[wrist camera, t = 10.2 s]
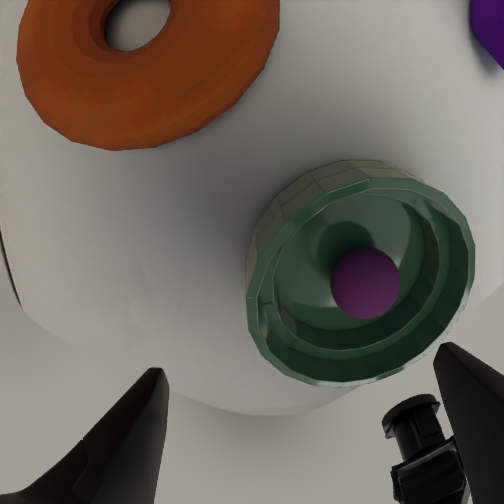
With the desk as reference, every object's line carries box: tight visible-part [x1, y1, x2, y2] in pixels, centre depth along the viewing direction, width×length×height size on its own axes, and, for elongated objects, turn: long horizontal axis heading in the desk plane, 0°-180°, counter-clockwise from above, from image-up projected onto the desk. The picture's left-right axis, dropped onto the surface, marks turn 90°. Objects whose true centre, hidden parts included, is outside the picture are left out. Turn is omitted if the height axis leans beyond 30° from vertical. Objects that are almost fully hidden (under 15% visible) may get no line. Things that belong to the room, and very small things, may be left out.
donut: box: [16, 0, 280, 151], centre depth 12 cm, size 15×15×5 cm
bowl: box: [246, 160, 475, 388], centre depth 19 cm, size 14×14×5 cm
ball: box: [330, 247, 400, 319], centre depth 18 cm, size 4×4×4 cm
